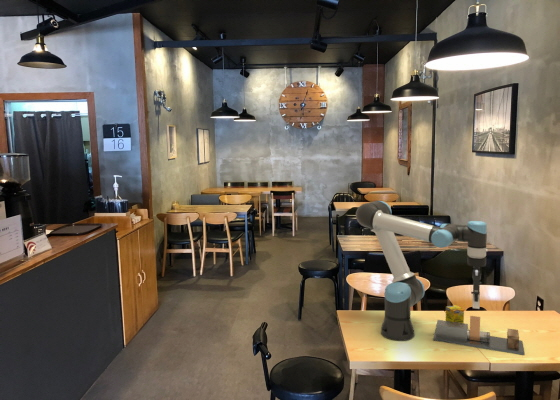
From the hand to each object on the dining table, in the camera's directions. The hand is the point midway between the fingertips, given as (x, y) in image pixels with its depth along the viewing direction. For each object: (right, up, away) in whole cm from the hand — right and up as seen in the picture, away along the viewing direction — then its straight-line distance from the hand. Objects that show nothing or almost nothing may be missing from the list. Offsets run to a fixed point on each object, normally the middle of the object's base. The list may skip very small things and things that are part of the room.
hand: (476, 303), depth 187 cm
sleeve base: (+1, -18, +1) cm, 18 cm away
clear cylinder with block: (-4, -16, +3) cm, 17 cm away
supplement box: (-4, -17, +15) cm, 22 cm away
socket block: (+14, -17, -5) cm, 22 cm away
